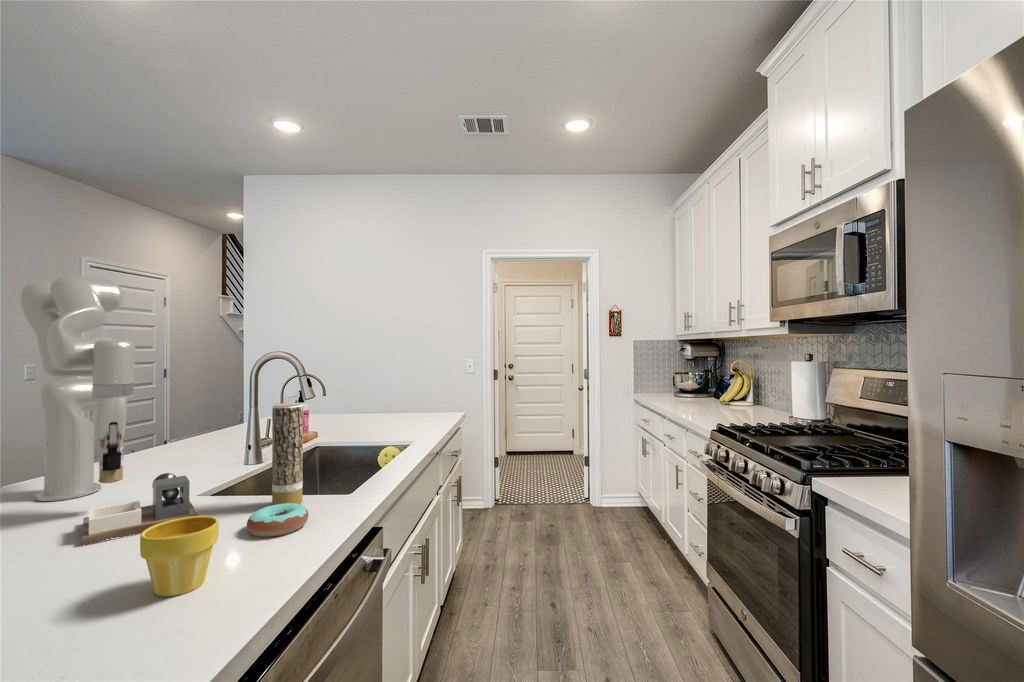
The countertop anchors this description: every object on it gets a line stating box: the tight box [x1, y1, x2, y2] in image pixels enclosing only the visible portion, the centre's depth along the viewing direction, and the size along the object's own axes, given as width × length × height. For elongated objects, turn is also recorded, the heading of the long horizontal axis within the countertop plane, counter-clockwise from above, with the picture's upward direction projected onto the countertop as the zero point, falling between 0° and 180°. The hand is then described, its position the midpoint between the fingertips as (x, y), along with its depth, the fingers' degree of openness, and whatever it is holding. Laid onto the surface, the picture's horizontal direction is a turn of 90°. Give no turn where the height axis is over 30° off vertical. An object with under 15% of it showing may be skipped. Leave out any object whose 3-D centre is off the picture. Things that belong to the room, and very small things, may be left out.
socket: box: [88, 500, 142, 535], centre depth 96 cm, size 8×8×3 cm
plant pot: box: [139, 515, 220, 598], centre depth 74 cm, size 10×10×10 cm
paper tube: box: [271, 402, 304, 506], centre depth 112 cm, size 7×7×25 cm
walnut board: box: [81, 500, 199, 547], centre depth 101 cm, size 15×19×2 cm
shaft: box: [152, 472, 180, 501], centre depth 106 cm, size 11×5×5 cm, turn 43°
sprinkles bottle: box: [98, 424, 125, 484], centre depth 108 cm, size 5×5×14 cm
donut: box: [246, 503, 309, 538], centre depth 98 cm, size 12×12×4 cm
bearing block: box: [152, 475, 190, 521], centre depth 102 cm, size 6×6×8 cm
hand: (111, 466), depth 108 cm, fingers closed on sprinkles bottle, 4 cm apart
